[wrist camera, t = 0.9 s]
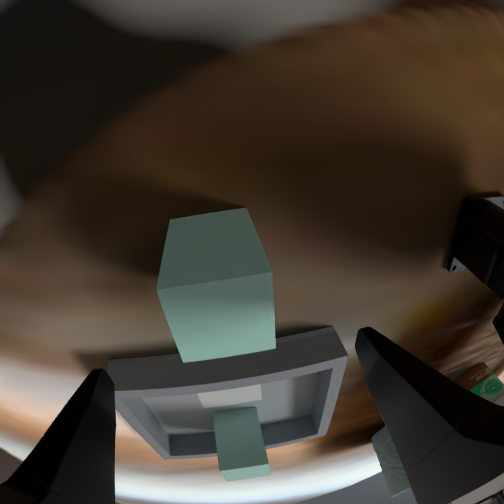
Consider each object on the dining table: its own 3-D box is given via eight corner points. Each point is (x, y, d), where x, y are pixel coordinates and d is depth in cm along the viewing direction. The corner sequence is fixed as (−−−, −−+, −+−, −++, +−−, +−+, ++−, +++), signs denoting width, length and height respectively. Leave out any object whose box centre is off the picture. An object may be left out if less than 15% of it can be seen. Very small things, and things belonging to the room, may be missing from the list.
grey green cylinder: (402, 411, 34) (433, 473, 24) (428, 411, 38) (455, 462, 28) (355, 444, 38) (378, 503, 28) (386, 441, 42) (408, 490, 32)
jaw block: (246, 207, 15) (272, 271, 10) (253, 271, 17) (275, 348, 12) (170, 219, 15) (156, 289, 10) (185, 282, 17) (183, 362, 12)
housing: (332, 325, 21) (368, 395, 15) (317, 412, 28) (335, 462, 22) (108, 359, 19) (95, 433, 14) (164, 435, 26) (165, 487, 21)
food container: (498, 345, 33) (529, 385, 25) (487, 365, 36) (514, 403, 28) (447, 381, 33) (477, 429, 25) (438, 399, 36) (463, 443, 28)
